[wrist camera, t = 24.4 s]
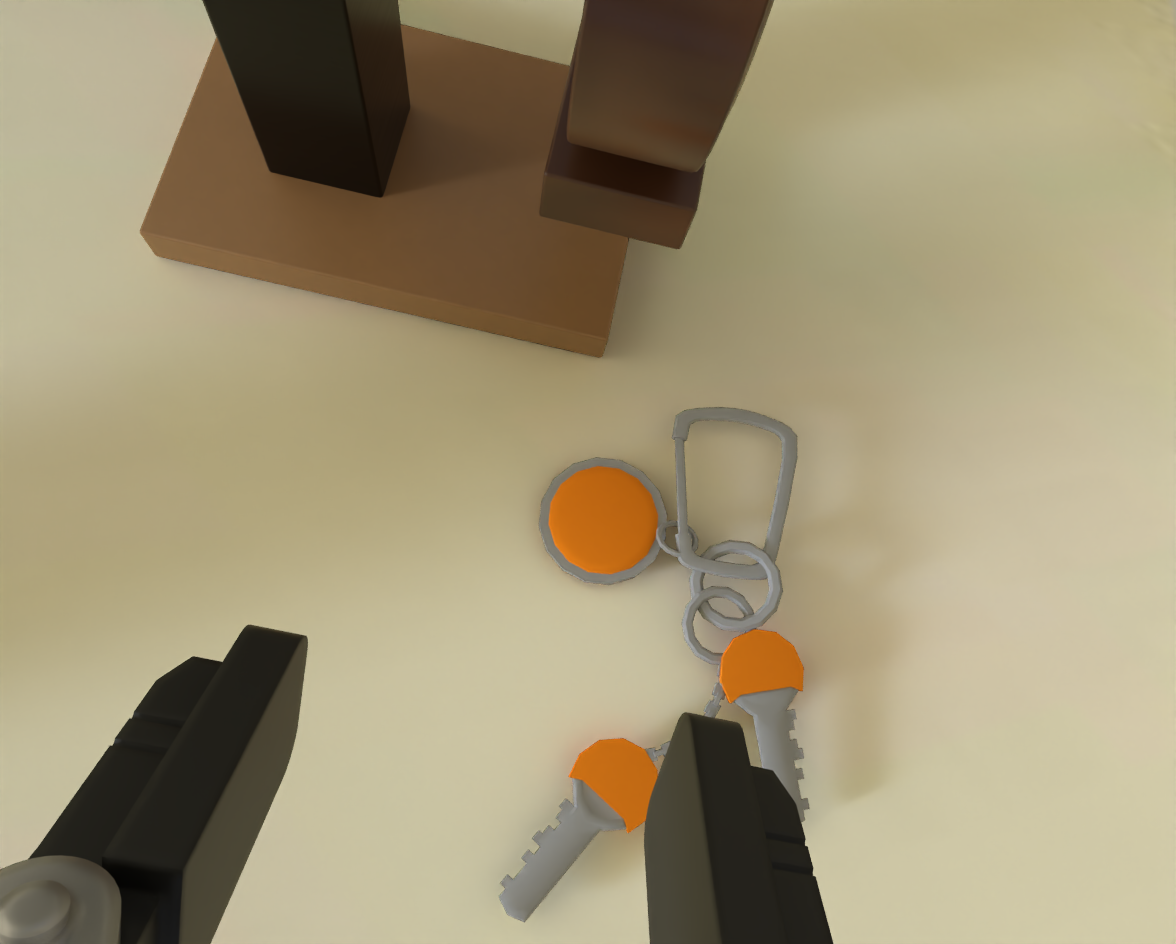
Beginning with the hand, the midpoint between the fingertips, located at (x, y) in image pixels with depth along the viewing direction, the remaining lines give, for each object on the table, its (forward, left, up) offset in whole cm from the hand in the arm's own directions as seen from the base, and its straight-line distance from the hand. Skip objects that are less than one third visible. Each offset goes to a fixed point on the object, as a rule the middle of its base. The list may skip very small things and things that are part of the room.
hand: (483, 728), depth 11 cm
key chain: (+2, +4, -10) cm, 11 cm away
